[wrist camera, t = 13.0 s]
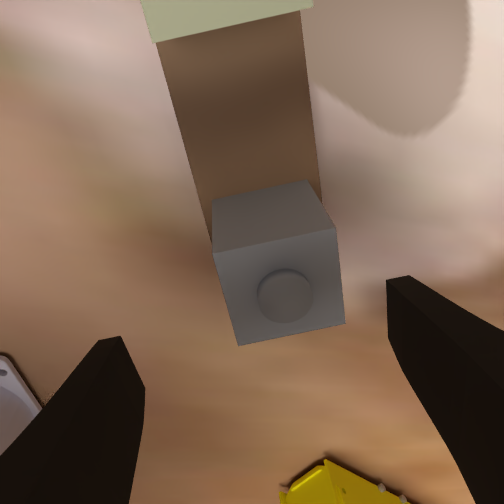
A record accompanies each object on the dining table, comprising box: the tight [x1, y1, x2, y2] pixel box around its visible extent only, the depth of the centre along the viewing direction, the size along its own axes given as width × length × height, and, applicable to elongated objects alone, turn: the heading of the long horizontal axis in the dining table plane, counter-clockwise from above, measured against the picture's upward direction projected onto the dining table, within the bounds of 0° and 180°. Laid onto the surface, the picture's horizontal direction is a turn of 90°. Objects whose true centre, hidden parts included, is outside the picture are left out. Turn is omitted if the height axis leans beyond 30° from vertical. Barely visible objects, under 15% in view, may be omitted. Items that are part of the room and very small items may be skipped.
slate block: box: [212, 179, 346, 346], centre depth 16 cm, size 4×4×5 cm
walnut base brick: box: [156, 10, 322, 243], centre depth 17 cm, size 16×5×2 cm, turn 11°
